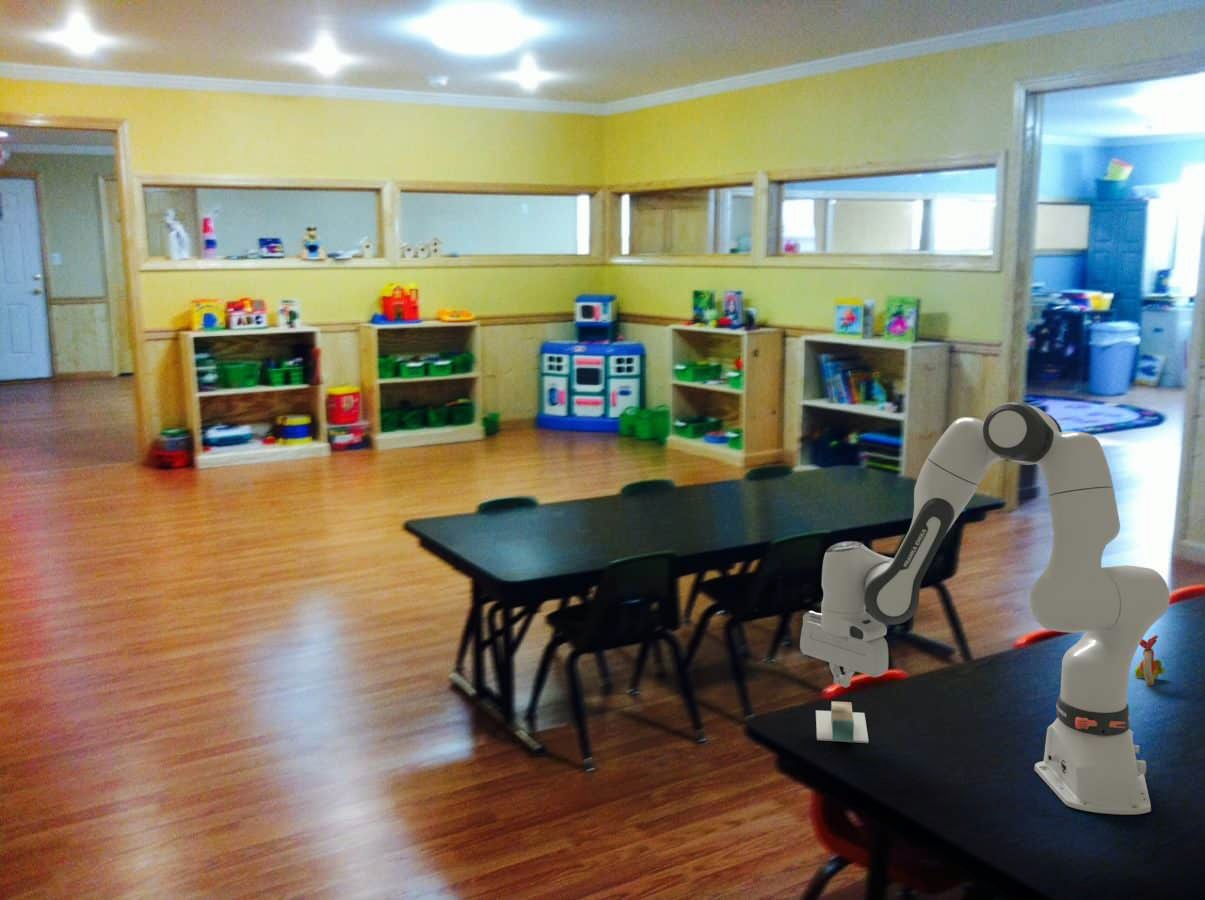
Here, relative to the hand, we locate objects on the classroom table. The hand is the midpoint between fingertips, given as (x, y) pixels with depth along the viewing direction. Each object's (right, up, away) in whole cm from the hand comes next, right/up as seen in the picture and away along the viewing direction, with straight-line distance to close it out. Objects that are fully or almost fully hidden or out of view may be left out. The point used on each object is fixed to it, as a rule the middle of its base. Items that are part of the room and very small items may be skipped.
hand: (841, 685), depth 224 cm
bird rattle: (+73, -4, +20) cm, 76 cm away
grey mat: (0, -8, -1) cm, 8 cm away
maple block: (0, -6, +1) cm, 6 cm away
